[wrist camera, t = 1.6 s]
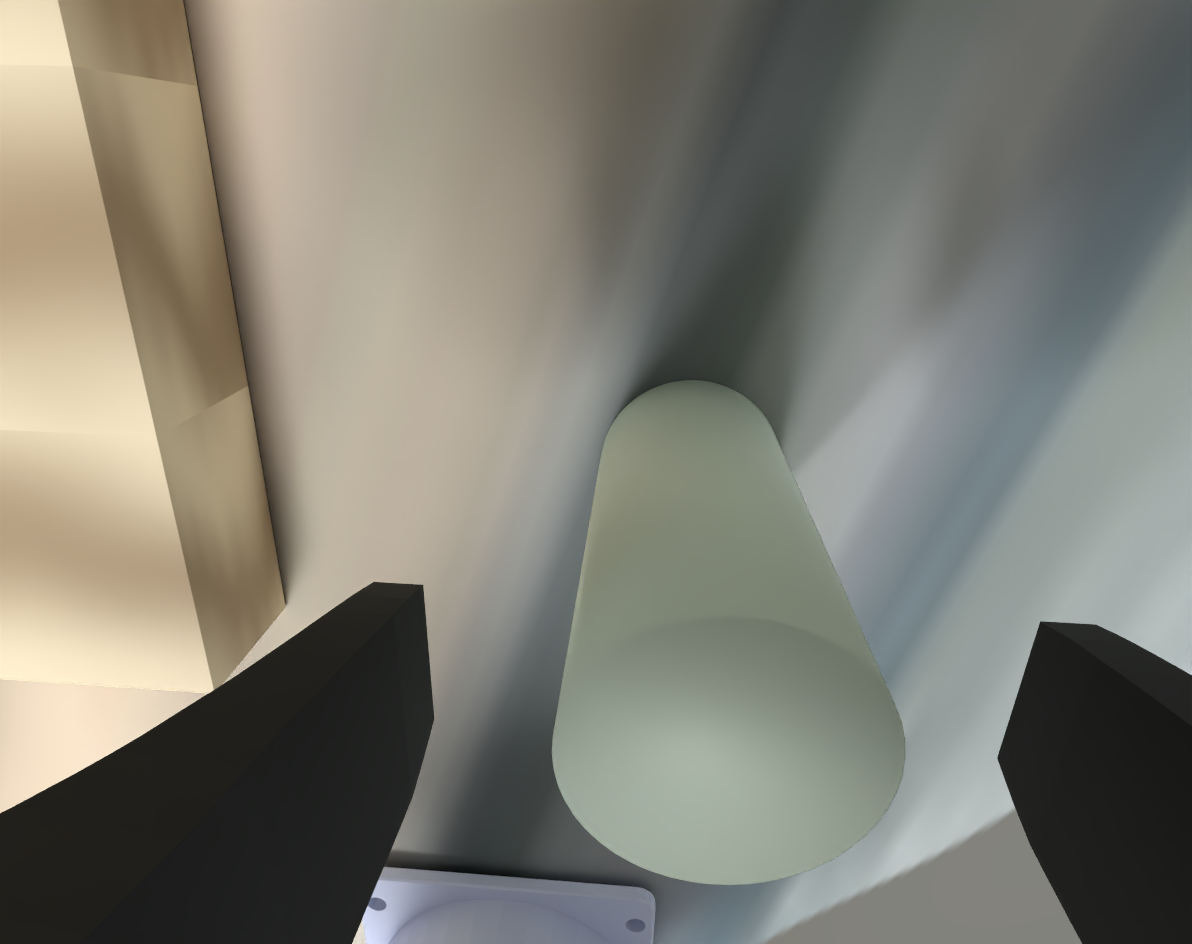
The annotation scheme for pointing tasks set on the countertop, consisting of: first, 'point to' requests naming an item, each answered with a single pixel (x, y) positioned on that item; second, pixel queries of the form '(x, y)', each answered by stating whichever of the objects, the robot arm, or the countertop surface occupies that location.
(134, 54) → the pocket block
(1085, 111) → the countertop surface
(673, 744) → the pin
